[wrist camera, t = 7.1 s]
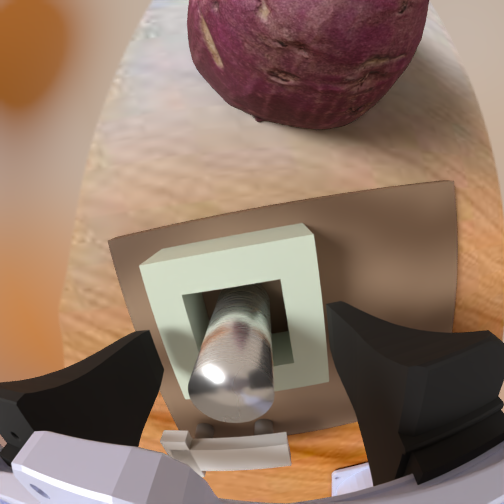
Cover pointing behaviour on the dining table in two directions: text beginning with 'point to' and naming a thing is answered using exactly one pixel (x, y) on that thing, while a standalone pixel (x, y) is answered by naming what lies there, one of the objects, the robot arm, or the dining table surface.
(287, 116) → the vegetable
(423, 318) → the board
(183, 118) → the dining table surface
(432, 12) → the dining table surface
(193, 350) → the square hollow frame
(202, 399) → the pin
